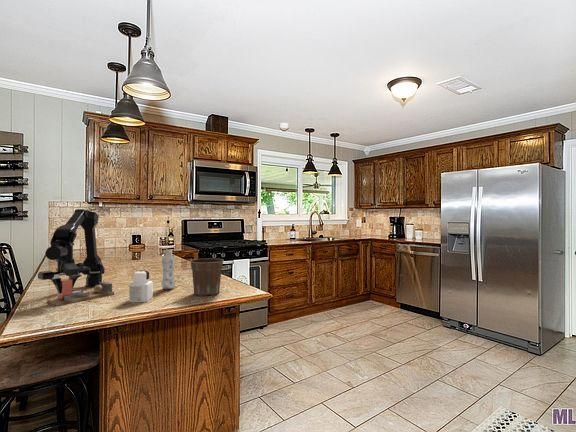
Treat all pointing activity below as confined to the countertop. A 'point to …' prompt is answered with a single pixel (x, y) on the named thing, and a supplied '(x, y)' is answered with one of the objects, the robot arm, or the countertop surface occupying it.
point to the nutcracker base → (85, 295)
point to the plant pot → (206, 276)
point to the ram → (66, 289)
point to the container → (141, 287)
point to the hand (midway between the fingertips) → (65, 292)
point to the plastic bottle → (168, 270)
